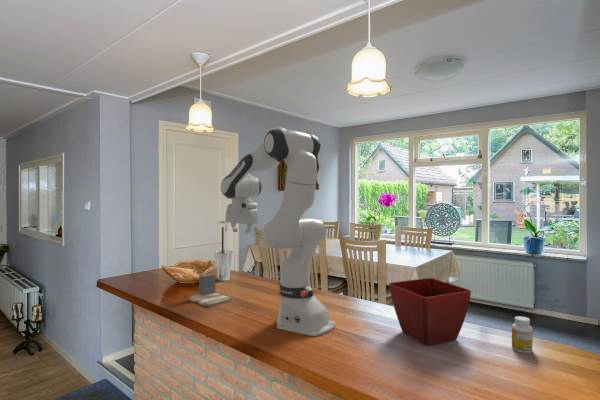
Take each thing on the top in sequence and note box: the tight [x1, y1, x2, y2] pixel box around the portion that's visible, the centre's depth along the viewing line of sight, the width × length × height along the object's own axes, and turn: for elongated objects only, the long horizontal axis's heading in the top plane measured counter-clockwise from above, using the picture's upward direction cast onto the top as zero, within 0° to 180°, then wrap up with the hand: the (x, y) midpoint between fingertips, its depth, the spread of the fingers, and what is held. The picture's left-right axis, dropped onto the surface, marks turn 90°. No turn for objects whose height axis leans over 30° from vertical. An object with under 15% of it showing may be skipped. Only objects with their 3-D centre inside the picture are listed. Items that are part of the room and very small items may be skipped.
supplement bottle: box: [511, 315, 534, 354], centre depth 109 cm, size 5×5×10 cm
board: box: [187, 292, 233, 308], centre depth 160 cm, size 16×12×1 cm
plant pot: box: [388, 277, 472, 346], centre depth 119 cm, size 19×19×17 cm
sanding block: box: [198, 273, 216, 297], centre depth 164 cm, size 4×6×9 cm
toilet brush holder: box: [214, 226, 234, 282], centre depth 196 cm, size 11×11×30 cm
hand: (241, 232), depth 170 cm, fingers open, 8 cm apart
